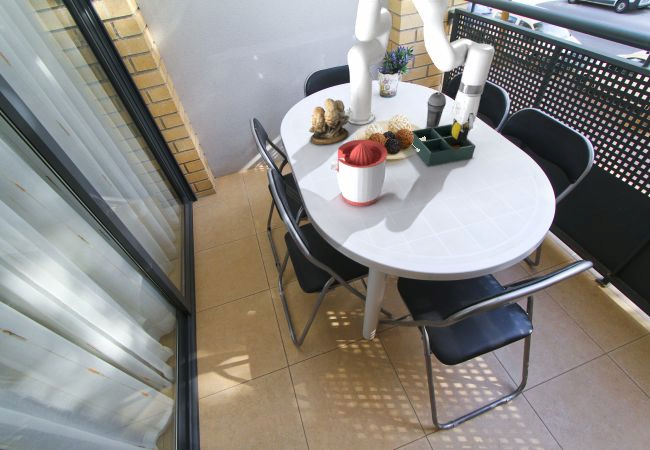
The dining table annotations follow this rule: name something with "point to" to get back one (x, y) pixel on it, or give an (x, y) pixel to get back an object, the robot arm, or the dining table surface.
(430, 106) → the beverage cup
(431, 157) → the divided storage tray
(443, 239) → the dining table surface
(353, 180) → the citrus juicer
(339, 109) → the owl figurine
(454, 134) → the lemon
